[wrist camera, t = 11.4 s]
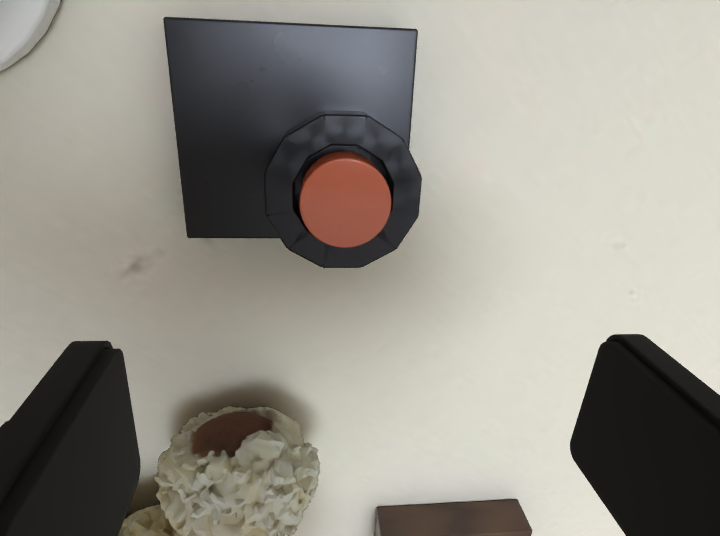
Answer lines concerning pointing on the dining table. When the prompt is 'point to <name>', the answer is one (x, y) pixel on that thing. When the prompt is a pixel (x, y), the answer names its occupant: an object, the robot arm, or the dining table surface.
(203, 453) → the stuffed dog
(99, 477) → the robot arm
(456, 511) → the dial panel
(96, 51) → the dining table surface
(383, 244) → the button block
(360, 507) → the dining table surface
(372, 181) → the button
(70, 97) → the dining table surface
